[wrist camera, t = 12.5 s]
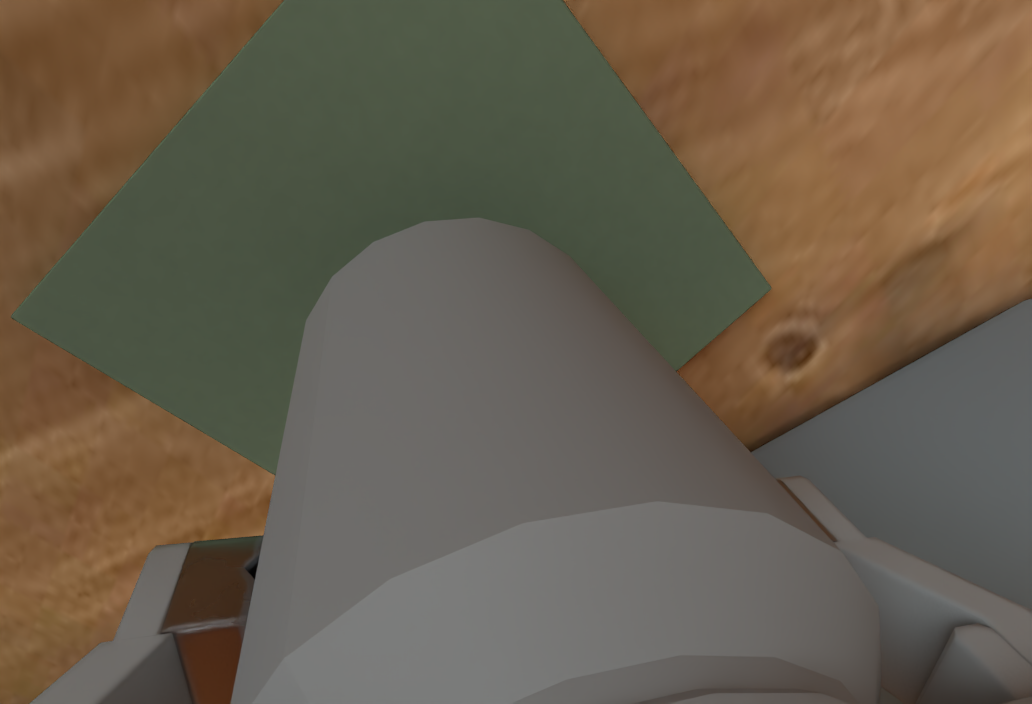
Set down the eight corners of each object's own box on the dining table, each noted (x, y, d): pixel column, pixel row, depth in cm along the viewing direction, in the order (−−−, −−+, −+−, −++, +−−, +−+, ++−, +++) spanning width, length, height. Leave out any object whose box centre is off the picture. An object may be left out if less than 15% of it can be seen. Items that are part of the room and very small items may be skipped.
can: (467, 514, 18) (605, 1155, 8) (235, 378, 15) (-62, 1186, 4) (652, 332, 17) (1123, 821, 6) (442, 135, 13) (717, 495, 3)
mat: (19, 309, 17) (9, 317, 16) (433, -168, 14) (435, -176, 14) (439, 563, 24) (441, 575, 24) (763, 282, 22) (772, 289, 21)
